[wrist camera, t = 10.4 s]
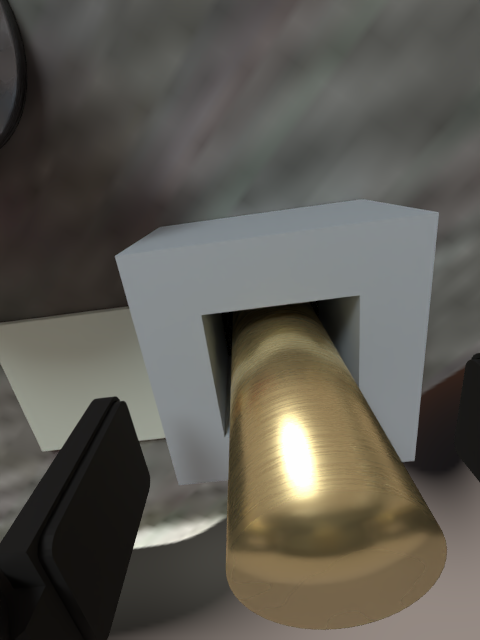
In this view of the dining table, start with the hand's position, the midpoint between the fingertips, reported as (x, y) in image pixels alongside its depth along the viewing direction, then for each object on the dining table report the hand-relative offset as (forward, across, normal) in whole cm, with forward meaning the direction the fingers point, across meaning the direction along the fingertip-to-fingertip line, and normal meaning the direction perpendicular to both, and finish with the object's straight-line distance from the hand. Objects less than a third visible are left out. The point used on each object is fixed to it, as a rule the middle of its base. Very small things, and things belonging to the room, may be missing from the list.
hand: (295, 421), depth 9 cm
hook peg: (+8, 0, 0) cm, 8 cm away
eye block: (+8, 0, 0) cm, 8 cm away
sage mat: (+8, +10, +3) cm, 13 cm away
